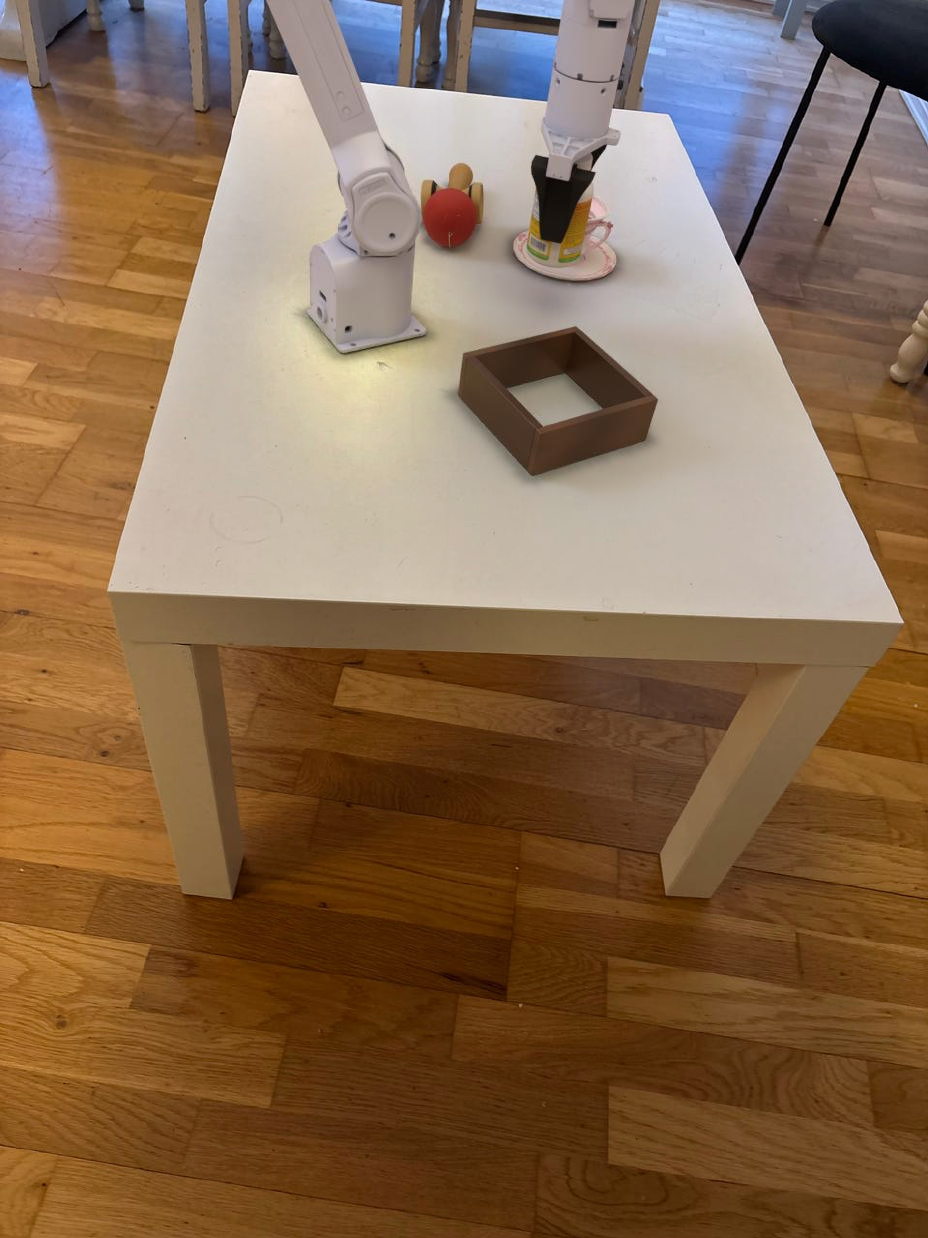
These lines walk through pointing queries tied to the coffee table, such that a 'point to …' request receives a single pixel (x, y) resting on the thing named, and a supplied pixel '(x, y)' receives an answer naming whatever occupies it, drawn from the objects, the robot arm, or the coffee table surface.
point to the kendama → (452, 207)
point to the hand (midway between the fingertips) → (557, 226)
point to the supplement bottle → (573, 240)
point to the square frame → (564, 440)
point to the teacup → (594, 253)
